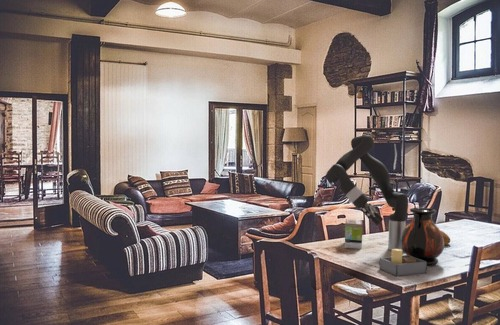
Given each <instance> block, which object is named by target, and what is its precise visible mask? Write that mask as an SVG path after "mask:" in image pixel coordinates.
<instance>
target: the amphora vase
mask: <svg viewBox="0 0 500 325" xmlns="http://www.w3.org/2000/svg"><path fill="white" fill-rule="evenodd" d="M409 212H410V213H412V214H413V218H412V220H411V221H410V222H409V223H408V224H406V225H407V226H406V227H405V228H404V230H403V232H402V235H401V248H402V250H403V251H402V252H403V253H404V254H405V255H410V256H413V257H415V258H418V259H421V260H423V261H426V262H427V267H428V266H429V267H430V266H436V265H437V264H438V263H439V260H438V257H439V256H440V255H441V254H442V253H443V251H444V248H445V245H444V239H443V236H442V233H441V231H442V230H441V229H440V228H439V227H438V225H436V224H435V221H433V218H432V217H433V215H435V214H436V213H437V210H436V209H434V208H433V209H432V208H428V207H412V208H410V209H409Z"/></svg>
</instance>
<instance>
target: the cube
mask: <svg viewBox="0 0 500 325" xmlns="http://www.w3.org/2000/svg"><path fill="white" fill-rule="evenodd" d="M406 263H416V260H415V259H414V258H403V264H406Z"/></svg>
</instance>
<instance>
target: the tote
mask: <svg viewBox="0 0 500 325" xmlns="http://www.w3.org/2000/svg"><path fill="white" fill-rule="evenodd" d="M403 258H414V259H415V260H416V263H406V264H403ZM378 266H379V268H378V269H379V270H381V271H383V272H385V273H387V274H390V275H393V276H394V277H397V276H398V277H405V276H406V277H407V276H413V275H414V276H416V275H423V274H424V275H425V274H427V273H428V272H427V270H428V269H427V268H428V266H427V262H426V261H423V260H421V259H418V258H415V257H413V256H410V255H406V254H405V255H404V254H403V255H402V264H395V263H393V262H391V256H384V257H379V265H378Z"/></svg>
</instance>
